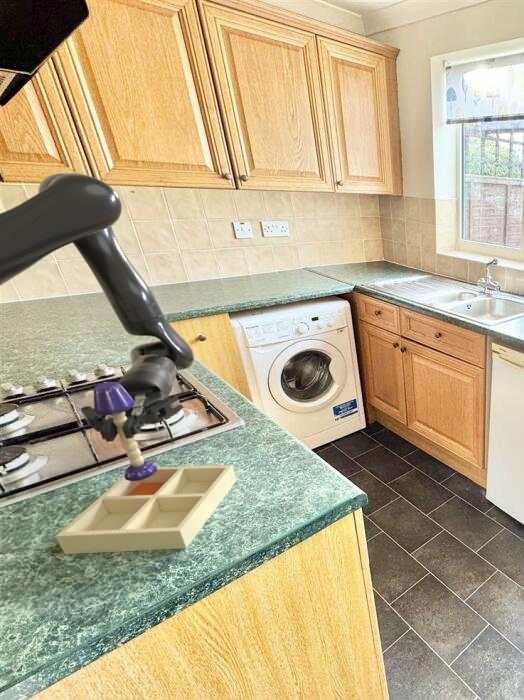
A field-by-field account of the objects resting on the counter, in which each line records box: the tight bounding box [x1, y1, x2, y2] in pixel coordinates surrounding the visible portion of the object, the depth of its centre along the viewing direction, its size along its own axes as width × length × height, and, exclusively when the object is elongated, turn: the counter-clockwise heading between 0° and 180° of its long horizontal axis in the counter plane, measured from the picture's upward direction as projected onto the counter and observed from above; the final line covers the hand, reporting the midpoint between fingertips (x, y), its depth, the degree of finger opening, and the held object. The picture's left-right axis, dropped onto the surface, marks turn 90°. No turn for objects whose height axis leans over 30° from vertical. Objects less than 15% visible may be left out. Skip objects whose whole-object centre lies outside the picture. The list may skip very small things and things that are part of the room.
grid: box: [55, 464, 238, 555], centre depth 69 cm, size 16×16×4 cm
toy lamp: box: [93, 381, 158, 481], centre depth 67 cm, size 5×5×17 cm
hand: (117, 434), depth 65 cm, fingers closed on toy lamp
